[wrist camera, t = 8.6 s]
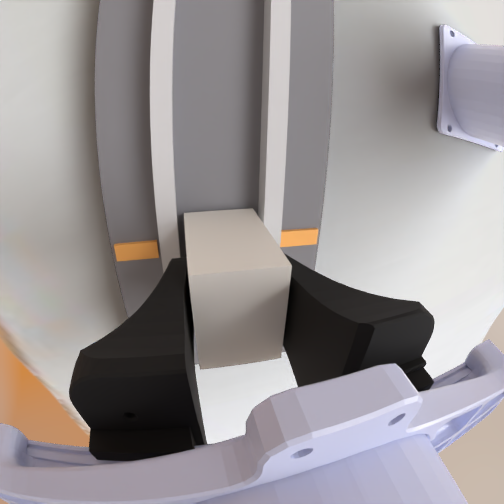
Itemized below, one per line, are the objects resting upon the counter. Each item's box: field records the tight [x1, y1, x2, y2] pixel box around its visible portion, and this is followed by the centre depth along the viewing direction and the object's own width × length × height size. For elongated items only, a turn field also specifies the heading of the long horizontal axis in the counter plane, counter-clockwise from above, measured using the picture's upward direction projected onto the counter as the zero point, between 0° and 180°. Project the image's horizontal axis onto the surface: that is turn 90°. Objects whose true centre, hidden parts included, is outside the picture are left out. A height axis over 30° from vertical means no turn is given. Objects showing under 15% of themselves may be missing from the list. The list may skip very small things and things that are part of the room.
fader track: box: [95, 0, 334, 364], centre depth 11 cm, size 10×30×3 cm, turn 178°
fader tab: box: [184, 208, 292, 369], centre depth 12 cm, size 3×4×5 cm
